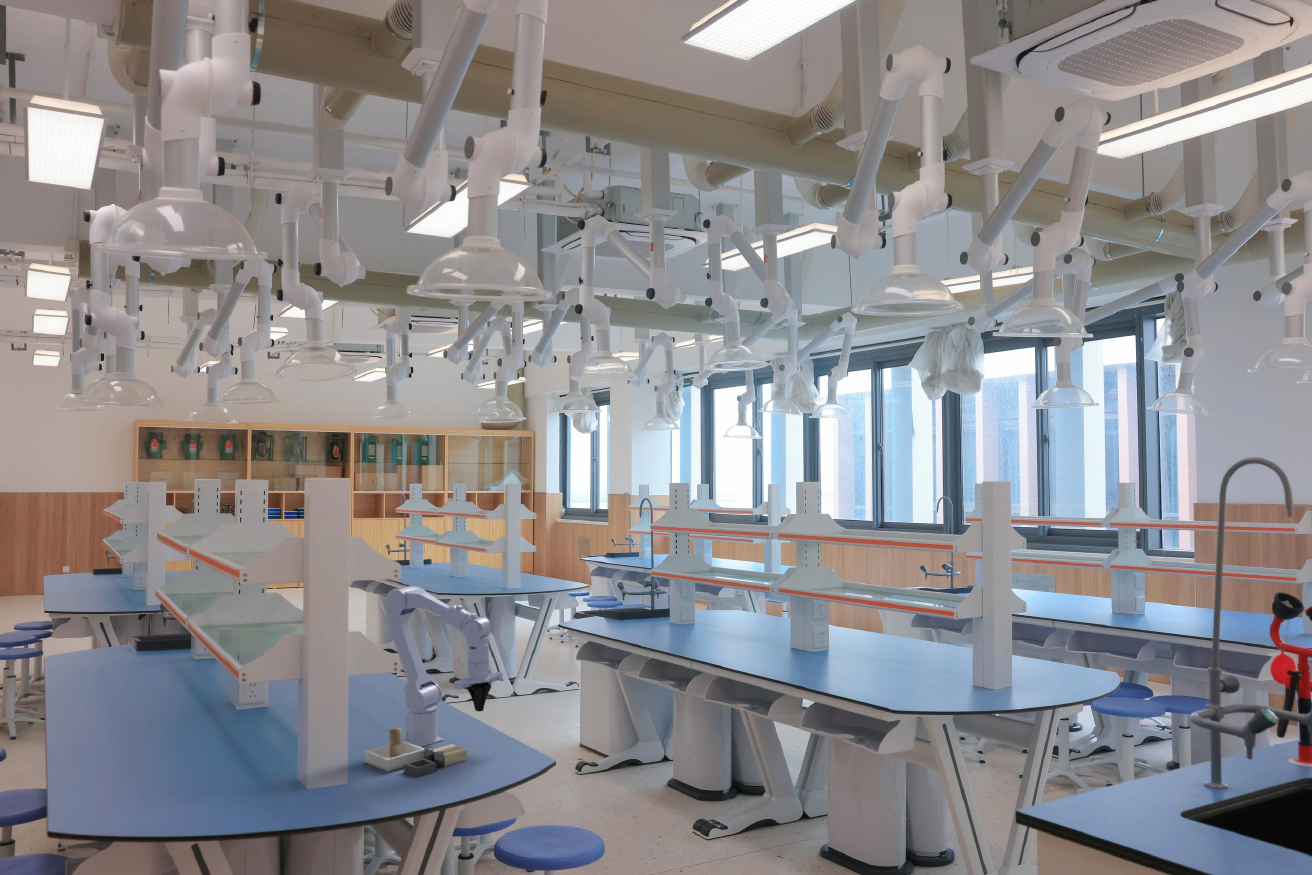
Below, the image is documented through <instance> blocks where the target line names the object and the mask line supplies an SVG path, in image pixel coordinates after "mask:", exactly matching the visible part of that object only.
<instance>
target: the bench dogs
mask: <svg viewBox="0 0 1312 875" xmlns="http://www.w3.org/2000/svg"><path fill="white" fill-rule="evenodd" d="M433 749H434V748H433V747H425V749H424V758H425V759H427V760H430V761H433ZM434 762H435V763H436V769H441V768H444V767H445V766H444V752H442V751H439V752H435V753H434Z"/></svg>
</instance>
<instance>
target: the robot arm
mask: <svg viewBox="0 0 1312 875" xmlns="http://www.w3.org/2000/svg"><path fill="white" fill-rule="evenodd" d="M383 603H384V606H385V609H386V623H387V626H388V628H389V632H390V634H391V639H392V640H393V643H394V646H395V649H396V651H397V654H398V657H399V660H400V662H401V666H402V668H403V671H404V673H405V674H404V675H405V676H406V679H407V681H406V682H405V683H406V684H405V685H404V688H403V691H404V694H405V697H404V698H405V699H404V700H405V705H406V707H407V709H408V711H407V712H406V714H405V718H404V729H405V730H404V735H405V737H404V738H402V741H406V742H408V743H411V744H414V745H417V746H419V747H422V748H423V747H425V746H429V745H431V744H435V743H440V742H443V741H444V740H445V738H443V737H440V736H439V734H438V707H439V703H440V702H441V700H442V698H443V691H442V689H441V687H440V686H439V685H438V684H437V682H436V680H435V677H433V676H432V675H430V674H429V673H428V672H427V671H426V669H425V665H424V662H423V660H422V657H421V654H420V651H419V648H418V646H417V642H416V640H415V638H414V634H413V632H412V629H411V627H410V623H409V620H410V618H411V616H412V614H413V613H414V612H415V611H416V610H417V609H418V608H421V609H425V610H426V611H429V612H430V613H433V614H435V615H437V616H440V617H442V618H443V620H444V623H445V624H446V625H448V626H450V627H452V628H453V629H455V630H457V631H459V632H461V633H463V636H464V637H465V640H466V645H467V677H465V678H462V679H460V680H459V679H458V680H456V681H453V682H454V684H453V686H454V690H462V689H465V688H466V690H467V691H468V693H469V696H470V697H471V699H472V703H473V707H474V710H475V712H483V711H484V710H485V705H486V701H487V698H488V694H489V693H490V691H491V690H492V684H491V683H493V682H496V681H503V673H502V672H499V671H497V672H492V673H490V666H489V665H490V659H489V658H490V650H489V646H490V644H489V643H490V642H489V640H490V639H489V636H490V634H491V633H492V630H493V624H492V621H491V620H490V619H489V618H488V617H487V616H485V615H480V616H477V614H476V613H475V612H470V611H468V610H467V609H464V607H463V605H461V604H458V605H456V604H454V605H451V606H449V605H448V604H446V603H444V602H443V601H441V600H440V599H438V598H436V597H434V596H433V595H431V594H429V593H428V592H427V591H426V589H424V588H422V587H419V586H418V585H415V584H411V585H409V586H405V587H402V588H395V589H392V590H390V591H389V592H388V593H387V596H386V597H385V599H384V601H383Z"/></svg>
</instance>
